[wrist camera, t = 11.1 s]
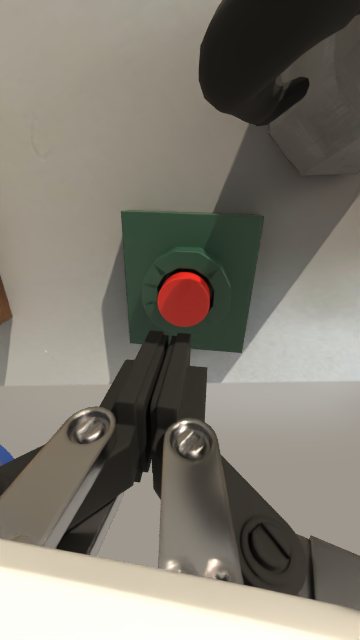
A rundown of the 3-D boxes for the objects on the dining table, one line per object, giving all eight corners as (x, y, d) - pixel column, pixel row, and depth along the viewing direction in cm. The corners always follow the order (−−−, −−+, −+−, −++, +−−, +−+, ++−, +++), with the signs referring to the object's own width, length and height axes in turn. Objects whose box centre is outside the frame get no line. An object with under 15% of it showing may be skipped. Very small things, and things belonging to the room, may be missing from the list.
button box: (239, 340, 24) (244, 365, 20) (136, 331, 24) (123, 354, 21) (258, 214, 19) (269, 217, 15) (129, 210, 20) (111, 212, 16)
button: (208, 318, 19) (207, 329, 17) (161, 315, 19) (157, 325, 18) (211, 272, 17) (212, 279, 16) (161, 269, 18) (156, 276, 16)
